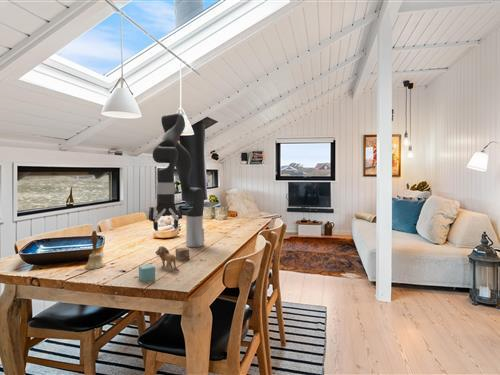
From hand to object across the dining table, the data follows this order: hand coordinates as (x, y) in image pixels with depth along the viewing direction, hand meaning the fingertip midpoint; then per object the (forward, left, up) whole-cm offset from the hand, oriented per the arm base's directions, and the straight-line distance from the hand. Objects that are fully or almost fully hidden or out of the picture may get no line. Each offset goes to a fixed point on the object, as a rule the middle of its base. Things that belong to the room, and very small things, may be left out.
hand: (165, 229), depth 137 cm
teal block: (+11, +9, -17) cm, 22 cm away
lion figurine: (0, +1, -17) cm, 17 cm away
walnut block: (-11, -9, -17) cm, 22 cm away
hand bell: (+26, -19, -17) cm, 36 cm away
